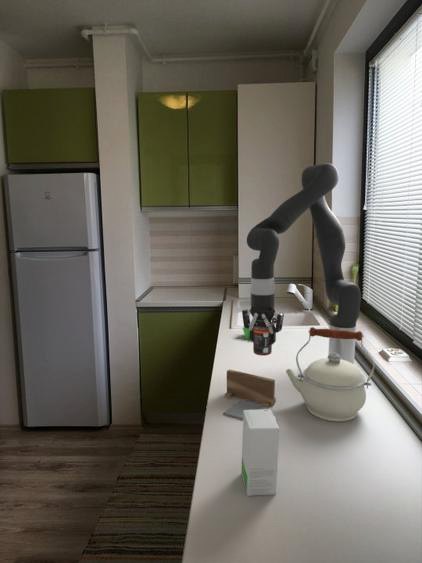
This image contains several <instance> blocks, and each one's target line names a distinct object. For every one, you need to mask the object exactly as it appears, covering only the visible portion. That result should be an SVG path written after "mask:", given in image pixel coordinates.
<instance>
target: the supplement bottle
mask: <svg viewBox="0 0 422 563" xmlns="http://www.w3.org/2000/svg"><path fill="white" fill-rule="evenodd" d="M256 323H257V325H255V326H254V328H253V342H252V343H253V345H252V348H253V350H252V351H253V354H255V355H256V356H257V355H258V356H261V357H262V356H269V355H271V354H272V351H273V350H272V349H273V348H272V347H273V344H272V345H270V344H269V334H270V331H269V329H268V327H267V326H266V324H265V321H262V320H257V321H256Z"/></svg>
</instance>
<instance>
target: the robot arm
mask: <svg viewBox="0 0 422 563" xmlns="http://www.w3.org/2000/svg"><path fill="white" fill-rule="evenodd" d="M339 178H340V175H339V171H338V169H337V167H336V166H335V165H334V164H332V163H328V162H326V163H325V162H324V163H320V164H315V165H311V166H310V165H309V166H307V167H305V169H303V171H302V174H301V186H302V190H300V191H298V192H297V193H296V194H294V195H292V196H291V197H288V198H287V199H286V200H285V201H284V202H282V203H281V204H280V205H279V206H277V208H275V210H274V211H273V212H272V213H271V215H269V216H268V217H266V218H264V219H263V220H262V221H261V222H260V221H259V223H258V224H256V225H255V226H254V227H252V228H251V229H250V231H249V232H248V234H247V236H246V244H247V246H248V247H249V248H250V249H251V250H252V251H258V252H259V255H258V257H257V258H255V259H253V260H252V262H251V277H250V278H251V279H250V289H249V290H250V309H249V308H245V309H242V311H241V315H242V322H243V327H245V328H248V329H249V330H250V339H249V340H250V341H251V342H252V343H253V328H254V326H255V325H257V323H256V321H257V320H262V321H265V324H266V326H267V327H268V329H269V331H270V334H269V344H270V345H272V346H273V345H274V344H275V343H276V340H277V335H276V334H277V333H279V332H281V331H282V328H283V325H284V324H283V323H284V316H285V314H284V313H283V312H281V313H279V312H276V310H275V294H276V293H275V289H276V288H275V287H276V285H275V278H274V277H275V267H274V266H275V262H276V259H277V255H278V251H279V246H280V238H279V235H281V234H284V233H286V231H288V230H289V229H290V228H291V226H292V225H293V224H294V223H295V222H296V221H297V220H298V219H299V217H301V216H302V215H303V214H304V213H305V212H306V211H307V210H308V209H309V211H310V215H311V218H312V223H313V227H314V231H315V238H316V242H317V247H318V250H319V254H320V258H321V266H322V270H323V276H324V285H325V286H324V288H325V294H326V297H327V300H328V301H329V302H330V303H331V304H333V305H335V306H337V312H336V314H332V315H331V316H330V318H329V328H328V329H334V330H335V329H336V330H346V331H351V332H357V322H358V319H359V316H360V309H361V299H362V292H361V289H360V286H359V285H358V284H356V283H354V282H349V281H346V280H345V278H344V274H343V268H342V262H343V259H344V255H345V252H346V239H345V234H344V229H343V226H342V224H341V222H340V221H339V219H338V218H337V217H336V215H335V214H334V213H333V211H332V209H330V208H329V205H328V203H327V200H326V197H325V196H326V195H327V194H329V193H330V192H331V191H332V190H333V189H335V187H336V186H337V185H338V183H339ZM250 315H251V316H252V319H251V318H250ZM273 318H275V321H276V322H274V319H273ZM355 348H356V339H340V338H339V339H337V338H328V353H327V354H328V355H327V357H328V356H329V355H330V354H332V353H334V352H335V353H337V354H339V355H340V357H341V358H342V360H345V361H348V362H350V363H352V364H354V365H355V353H356V352H355V351H356V349H355Z"/></svg>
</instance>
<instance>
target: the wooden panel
mask: <svg viewBox="0 0 422 563" xmlns="http://www.w3.org/2000/svg"><path fill="white" fill-rule="evenodd" d="M275 385H276V380H275V379H274V378H268V377H264V376H260V375H255V374H250V373H246V372H242V371H238V370H233V369H227V370H226V392H225V393H224V398H226V399H232V398H233V397H234V398H238V399H241V400H245V401H248V402H249V401H250V402H252V403H256V404H261V406H265V407H269V408H271V407H273V406H274V405H275V403H276V401H277V397H275V393H276V392H275V391H276V390H275V388H276V387H275Z"/></svg>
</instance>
